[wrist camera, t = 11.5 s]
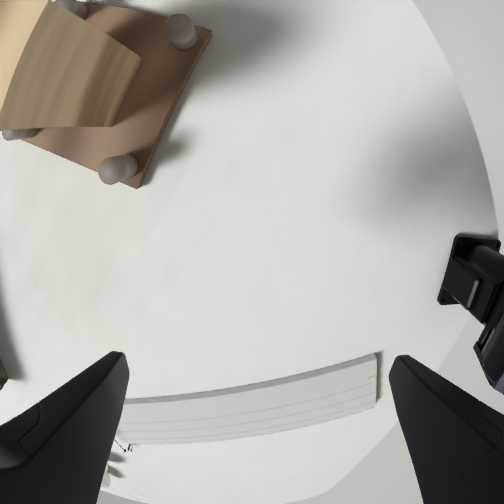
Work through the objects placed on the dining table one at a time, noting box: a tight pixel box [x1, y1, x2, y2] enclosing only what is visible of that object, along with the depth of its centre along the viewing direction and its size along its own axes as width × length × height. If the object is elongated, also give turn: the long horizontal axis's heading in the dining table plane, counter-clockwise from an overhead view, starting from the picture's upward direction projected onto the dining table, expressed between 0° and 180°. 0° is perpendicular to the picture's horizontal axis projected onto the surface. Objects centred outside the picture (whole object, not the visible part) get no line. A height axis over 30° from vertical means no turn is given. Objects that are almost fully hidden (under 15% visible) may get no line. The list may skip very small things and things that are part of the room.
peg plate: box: [2, 0, 212, 189], centre depth 15 cm, size 12×12×4 cm
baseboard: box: [114, 353, 377, 452], centre depth 27 cm, size 30×3×10 cm
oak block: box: [0, 0, 143, 131], centre depth 11 cm, size 5×5×11 cm
